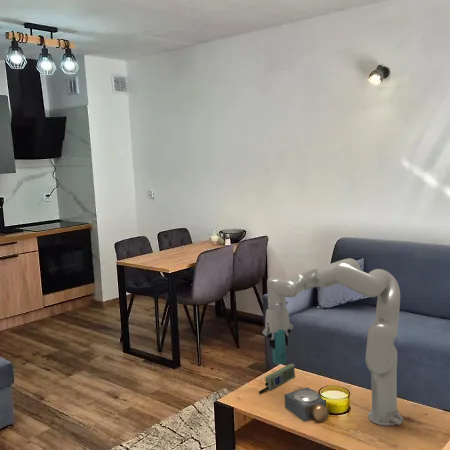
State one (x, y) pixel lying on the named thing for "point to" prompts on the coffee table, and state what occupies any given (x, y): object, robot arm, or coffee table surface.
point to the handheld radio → (279, 377)
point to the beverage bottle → (279, 348)
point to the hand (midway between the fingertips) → (278, 345)
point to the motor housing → (306, 405)
